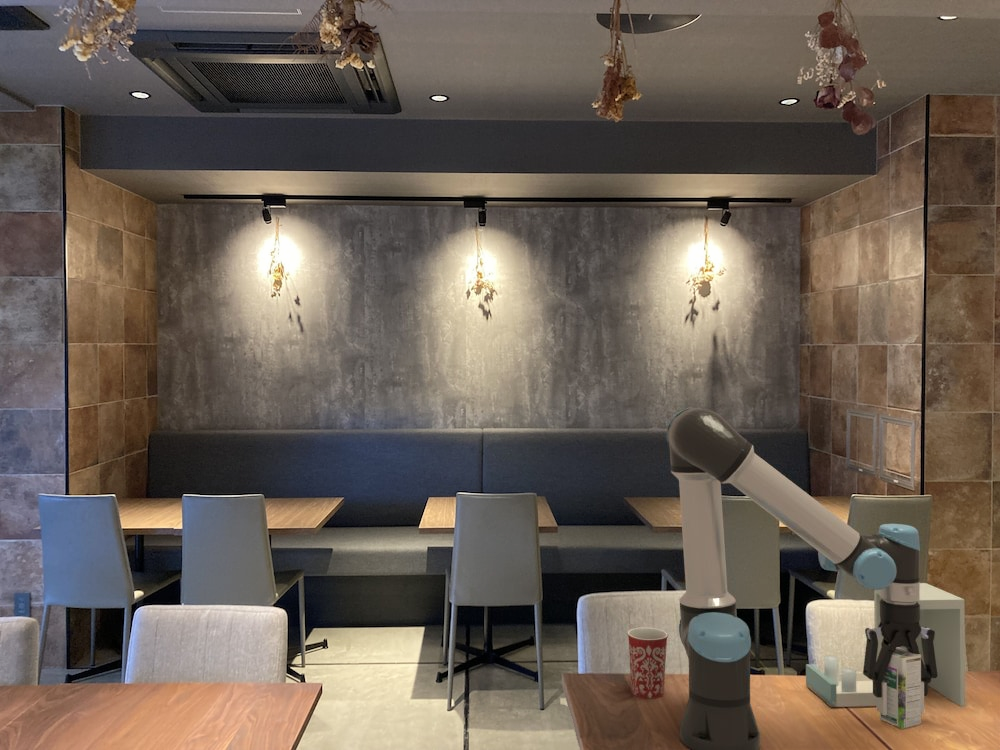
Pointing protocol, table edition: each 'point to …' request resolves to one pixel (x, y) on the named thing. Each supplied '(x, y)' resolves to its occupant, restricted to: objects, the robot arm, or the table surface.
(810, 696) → the table surface
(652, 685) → the mug
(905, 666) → the syrup box
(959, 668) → the white open shelf
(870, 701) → the tray
